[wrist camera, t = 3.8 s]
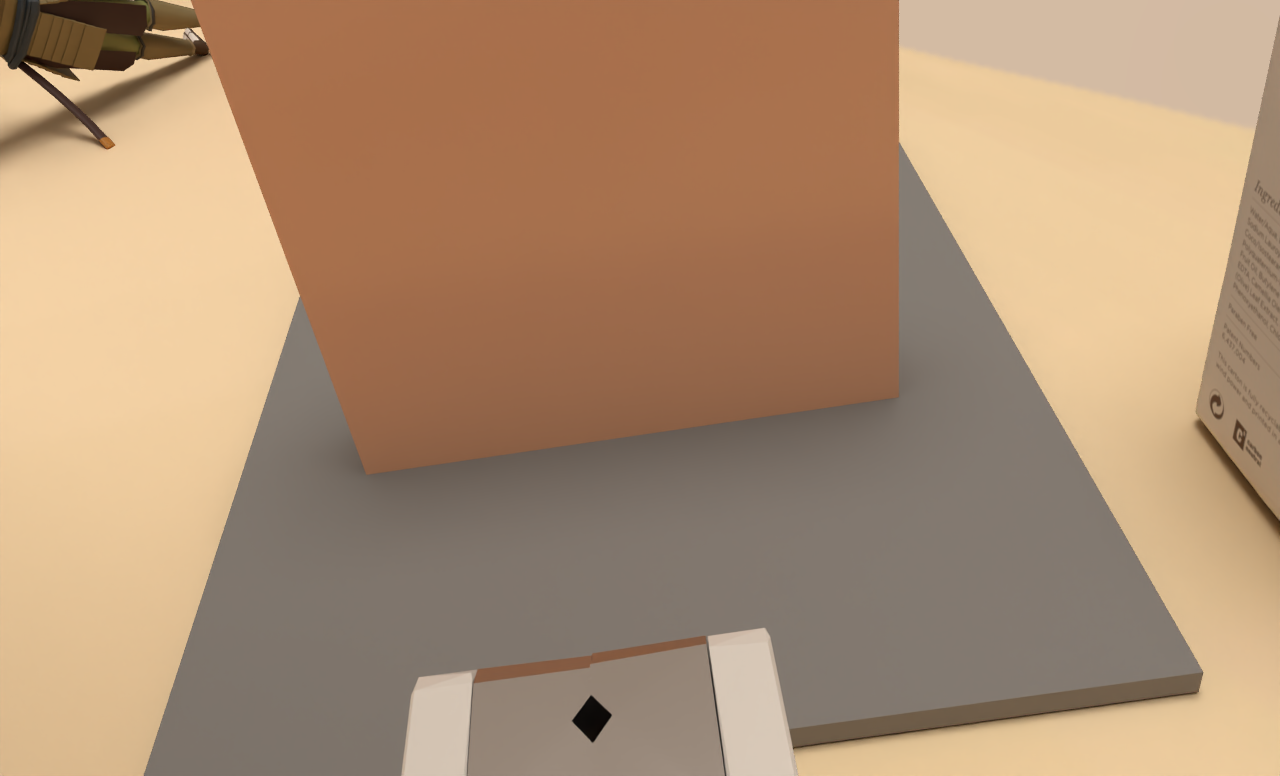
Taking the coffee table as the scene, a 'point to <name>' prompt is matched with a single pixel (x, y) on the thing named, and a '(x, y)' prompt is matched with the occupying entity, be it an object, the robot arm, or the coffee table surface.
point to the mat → (682, 557)
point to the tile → (576, 209)
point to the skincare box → (1251, 316)
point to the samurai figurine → (91, 39)
